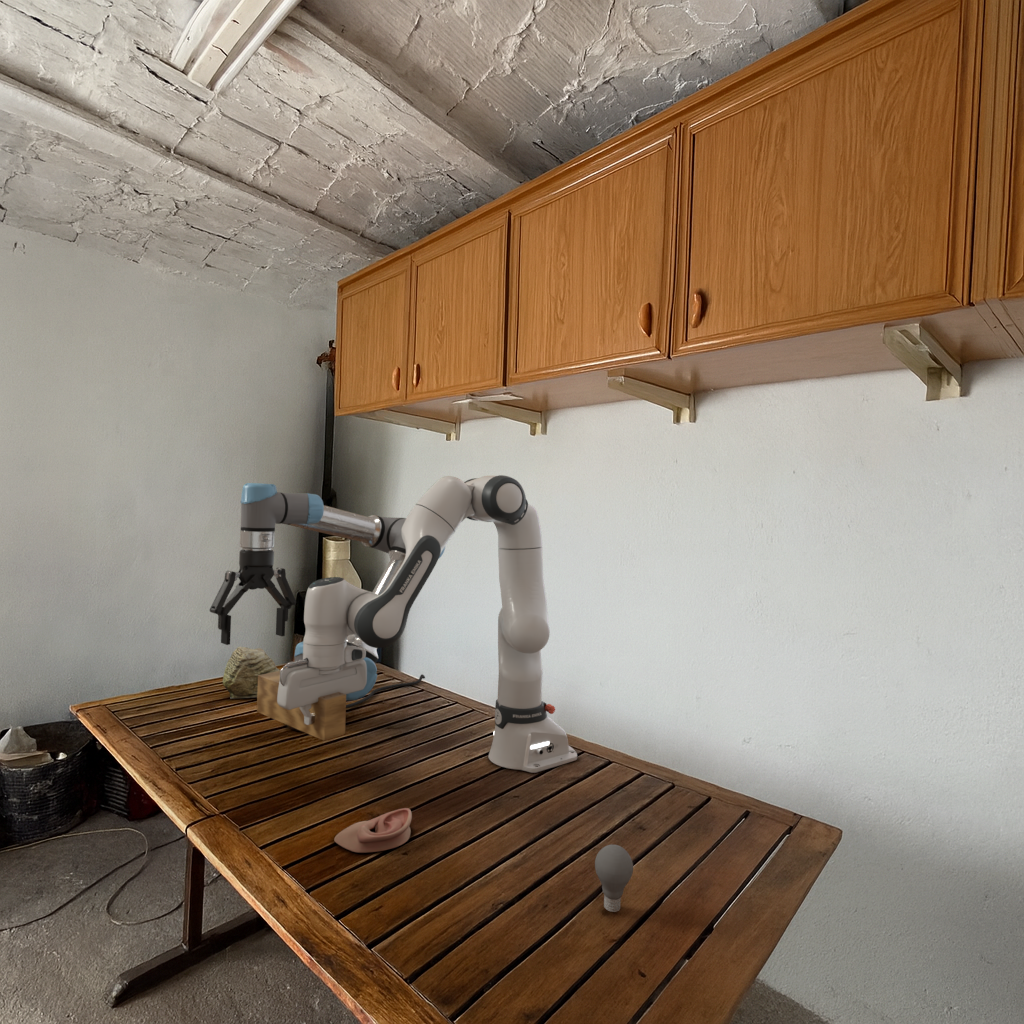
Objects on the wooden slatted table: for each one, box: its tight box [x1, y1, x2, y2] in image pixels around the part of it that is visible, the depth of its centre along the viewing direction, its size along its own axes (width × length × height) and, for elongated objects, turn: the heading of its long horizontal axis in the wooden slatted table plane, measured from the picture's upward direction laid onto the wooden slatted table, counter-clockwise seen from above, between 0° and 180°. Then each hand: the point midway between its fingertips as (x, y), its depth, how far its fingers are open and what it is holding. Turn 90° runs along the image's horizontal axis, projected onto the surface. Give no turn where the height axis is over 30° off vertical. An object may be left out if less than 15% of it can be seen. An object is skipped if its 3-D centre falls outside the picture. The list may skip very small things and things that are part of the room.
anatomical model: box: [333, 807, 413, 854], centre depth 119 cm, size 13×4×12 cm
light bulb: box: [594, 844, 634, 913], centre depth 100 cm, size 6×6×10 cm
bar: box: [256, 671, 347, 742], centre depth 139 cm, size 25×5×8 cm, turn 52°
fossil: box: [222, 646, 281, 699], centre depth 198 cm, size 9×18×15 cm, turn 132°
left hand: (253, 639), depth 148 cm, fingers open, 13 cm apart
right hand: (323, 719), depth 134 cm, fingers closed on bar, 5 cm apart
